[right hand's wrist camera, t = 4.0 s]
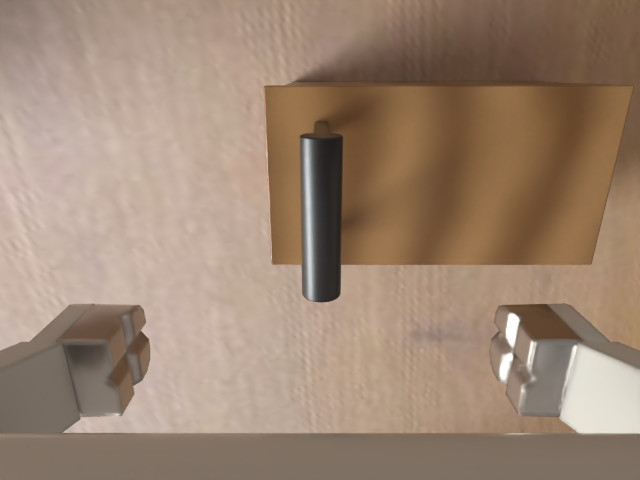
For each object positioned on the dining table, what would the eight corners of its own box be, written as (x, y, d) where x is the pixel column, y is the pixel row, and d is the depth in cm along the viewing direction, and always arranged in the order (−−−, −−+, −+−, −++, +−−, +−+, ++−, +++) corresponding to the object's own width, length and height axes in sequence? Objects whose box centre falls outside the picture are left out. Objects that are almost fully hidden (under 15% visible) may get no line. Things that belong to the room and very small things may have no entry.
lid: (273, 257, 26) (252, 335, 19) (266, 85, 23) (237, 92, 15) (580, 257, 26) (690, 335, 18) (619, 85, 23) (775, 91, 15)
